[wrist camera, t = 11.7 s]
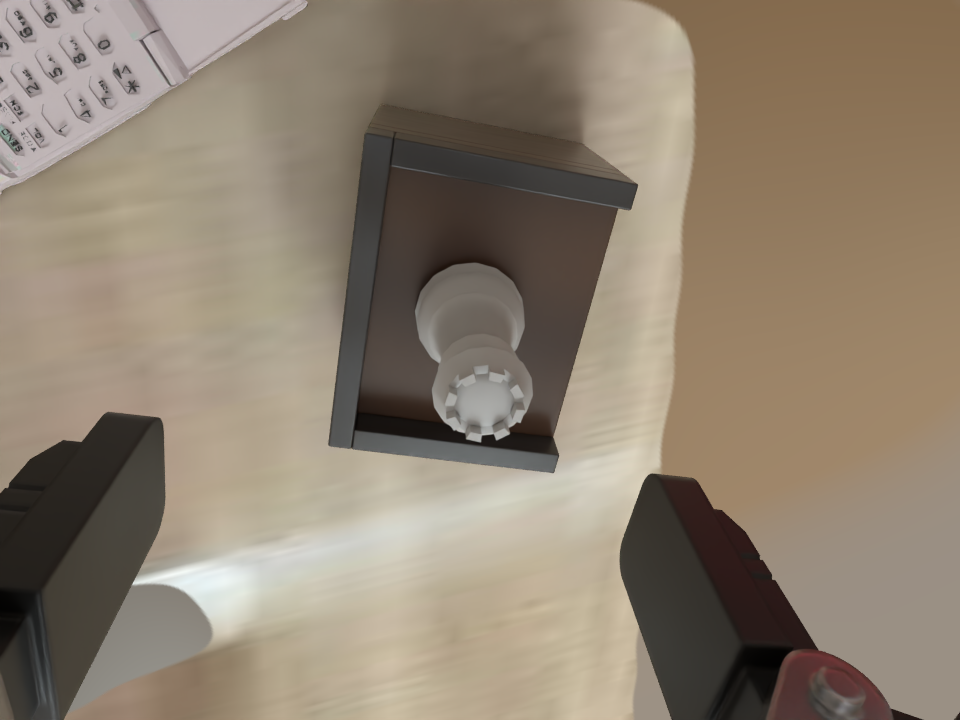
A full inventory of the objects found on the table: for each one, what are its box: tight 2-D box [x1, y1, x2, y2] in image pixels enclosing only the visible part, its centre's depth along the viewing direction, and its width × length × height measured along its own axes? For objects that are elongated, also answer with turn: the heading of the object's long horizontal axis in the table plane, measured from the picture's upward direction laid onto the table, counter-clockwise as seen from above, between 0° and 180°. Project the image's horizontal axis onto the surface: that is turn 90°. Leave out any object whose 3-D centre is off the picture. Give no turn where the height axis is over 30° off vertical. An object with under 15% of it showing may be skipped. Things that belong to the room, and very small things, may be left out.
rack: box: [328, 104, 638, 473], centre depth 31 cm, size 13×10×10 cm
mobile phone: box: [0, 0, 307, 194], centre depth 27 cm, size 6×6×25 cm
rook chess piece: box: [415, 263, 533, 442], centre depth 24 cm, size 4×4×8 cm
